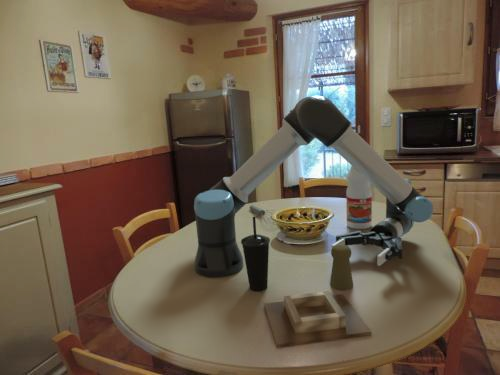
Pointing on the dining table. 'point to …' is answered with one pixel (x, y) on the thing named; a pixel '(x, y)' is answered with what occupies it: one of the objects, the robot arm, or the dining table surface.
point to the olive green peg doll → (341, 268)
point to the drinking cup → (256, 259)
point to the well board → (313, 319)
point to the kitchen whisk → (260, 211)
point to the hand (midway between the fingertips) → (354, 255)
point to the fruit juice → (358, 201)
